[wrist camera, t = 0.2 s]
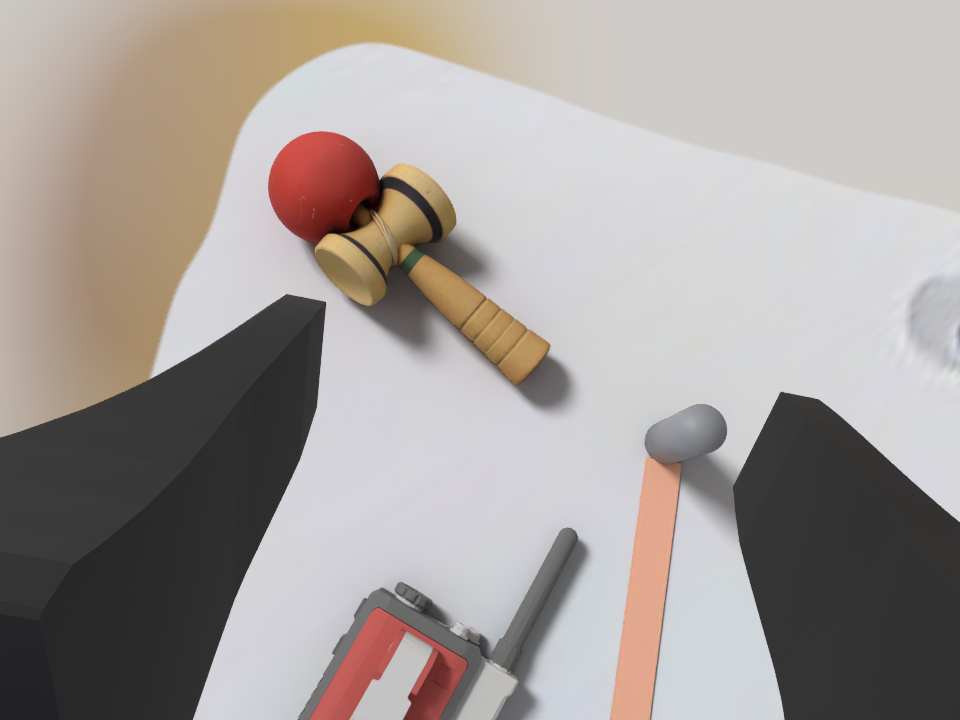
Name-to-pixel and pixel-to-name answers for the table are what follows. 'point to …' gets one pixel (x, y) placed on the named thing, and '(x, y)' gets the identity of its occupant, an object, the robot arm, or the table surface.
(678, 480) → the finish line
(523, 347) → the kendama
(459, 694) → the walkie-talkie
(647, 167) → the table surface
